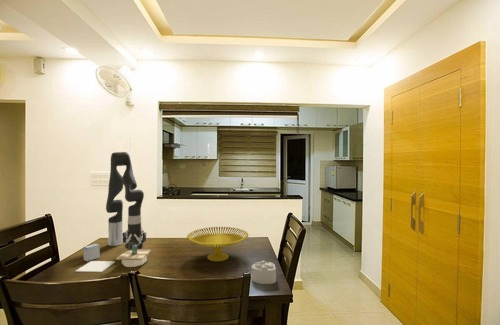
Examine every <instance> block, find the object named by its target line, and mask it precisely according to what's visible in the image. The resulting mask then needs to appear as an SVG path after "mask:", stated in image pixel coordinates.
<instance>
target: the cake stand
mask: <svg viewBox="0 0 500 325" xmlns="http://www.w3.org/2000/svg"><path fill="white" fill-rule="evenodd" d="M186 238H187V240H188V241H190V242H191V243H195V244H197V245H200V246H203V247H208V248H213V253H210V254H208V256H207V260H209V261H212V262H223V261H225V260H228V259H229V255H228V254H227V253H224V252H223V248H224V247H229V246H233V245H236V244H238V243H240V242H243V241H244V240H247V238H249V233H248V232H247V231H245V230H244V229H241V228H238V227H231V226H210V227H209V226H208V227H204V228H203V227H202V228H199V229H195V230H193V231H191V232H189V233H188V234H187V235H186Z"/></svg>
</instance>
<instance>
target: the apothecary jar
mask: <svg viewBox="0 0 500 325" xmlns="http://www.w3.org/2000/svg"><path fill="white" fill-rule="evenodd" d="M125 232H128V229H127V230H126V231H125ZM141 232H145V230H144V229H143V228H142V226H141ZM140 236H141V238H143V236H142V234H141V235H140ZM128 237H129V236H128V234H127V239H128ZM139 244H140V243H139V241H138V240H137V239H131V240H130V249H132V246H133V245H137V249H139ZM144 245H145V242H144V243H143V247H144ZM124 248H125V249H127V248H126V243H125V244H124Z"/></svg>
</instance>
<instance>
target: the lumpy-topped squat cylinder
mask: <svg viewBox="0 0 500 325" xmlns="http://www.w3.org/2000/svg"><path fill="white" fill-rule="evenodd" d="M250 278H251V279H250V280H251V281H252V282H254V283H256V284H260V285H272V284H273V285H274V284H275V283H276V282H277V267H276V265H275V263H273V262H271V261H270V262H267V261H266V260H261V261H258V262H255V263H254V264H252V265H251V276H250Z"/></svg>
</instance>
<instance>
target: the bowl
mask: <svg viewBox="0 0 500 325" xmlns="http://www.w3.org/2000/svg"><path fill="white" fill-rule="evenodd" d="M147 256H148V254H147V255H146V256H145V257H144V258H143V259H142V260H121V265H123V266H124V267H126V268H136V267H139V266H142V265H144V264H146V262H147V261H148V258H147Z"/></svg>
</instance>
